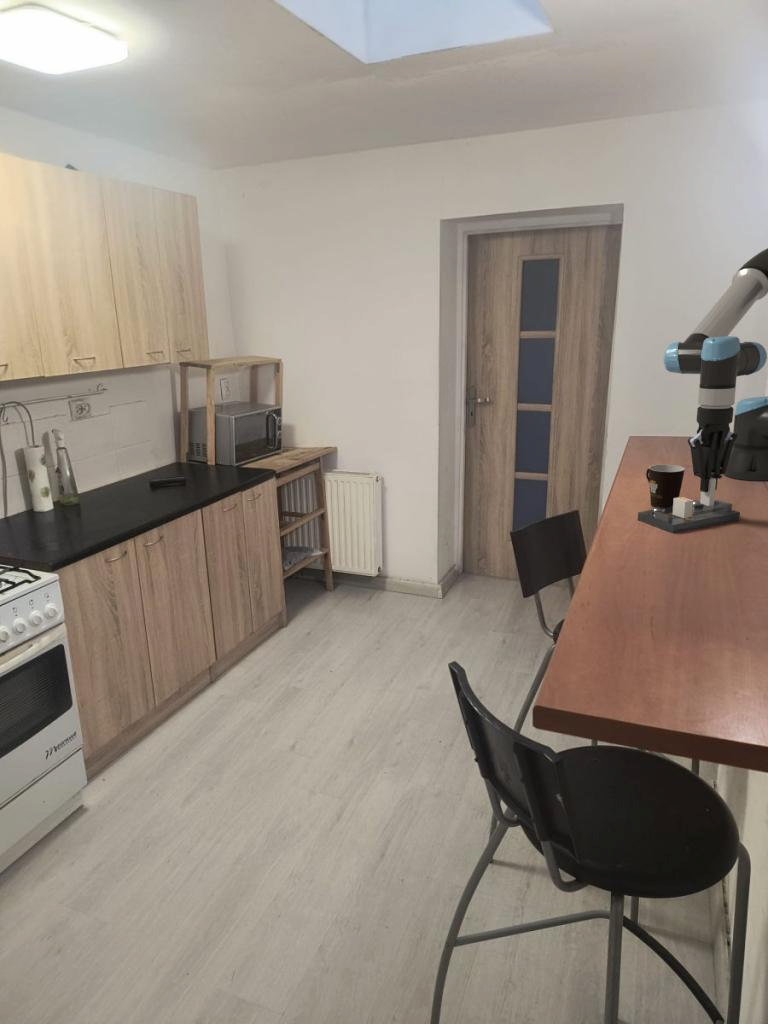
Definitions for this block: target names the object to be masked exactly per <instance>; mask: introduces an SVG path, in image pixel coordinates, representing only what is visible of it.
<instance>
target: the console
mask: <svg viewBox="0 0 768 1024" xmlns="http://www.w3.org/2000/svg"><path fill="white" fill-rule="evenodd" d="M692 500H693V499H692ZM700 500H701V499H699V500H698V499H696V500H695V499H694V500H693V510H692V517H688V518H682V517H679V516H676V515H673V506H671V507H665V508H663V507H652V509H650V510H645V511H638V512H637V521H639V522H642V523H644V524H647V525H650V526H652V527H655V528H659V529H661V530H662V531H663V530H664V531H666V532H669V533H671V534H676V533H680V532H686V531H691V530H692V531H693V530H696V529H702V528H706V527H711V526H718V525H722V524H728V523H734V522H737V521H740V517H741V512H740V511H737V510H733V504H732V503H729V502H726V501H723V500H720V499H714V505H712V506H707V505H704V504H701V503H700Z"/></svg>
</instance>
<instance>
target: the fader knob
mask: <svg viewBox="0 0 768 1024" xmlns="http://www.w3.org/2000/svg"><path fill="white" fill-rule="evenodd" d="M692 510H693V499H690V498H687V497H682V496H681V497H680V496H679V497H678V498H674V501H673V515H676V516H679V517H682V518H688V517H692Z"/></svg>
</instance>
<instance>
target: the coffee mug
mask: <svg viewBox="0 0 768 1024" xmlns="http://www.w3.org/2000/svg"><path fill="white" fill-rule="evenodd" d="M685 469H686V467H684V466H680V465H675V464H664V463H663V464H653V465H649V466H648V468H647V470H646V473H645V476H646V480H647V482H648V484H649V495H650V497H649V499H650V506H651V507H652V508H654V507H663V508H665V507H671V506H673V501H674V498H678V497H680V494H681V490H682V486H683V485H682V484H683V481H684V480H683V479H684V475H685Z"/></svg>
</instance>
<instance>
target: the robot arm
mask: <svg viewBox="0 0 768 1024" xmlns="http://www.w3.org/2000/svg"><path fill="white" fill-rule="evenodd" d="M767 295H768V247H767V248H766V249H763V250H762V251H760V252H758V253H756V254H755V255H754V256H752V257H751V258H750V259H749V260H748V261H746V262H745V263H744V264H743V265H742V266H741V267H740V268H739V269H738V270H737V271H736V273H735V274H734V275H733V276H732V279H731V285H730V286H729V287H728V288H727V290H725V292H724V293H723V295H722V296H721V297H720V298H719V299H718V301H717V302H715V304H713V306H712V307H711V309H710V310H709V312H708V313H707V314H706V315H705V316H704V317H703V318H702V319H701V321H700V322H699V323H698V324H697V325H696V327H695V328H694V329H693V331H692V332H691V333H690V334H689V335H688V336H687V338H686V339H685V340H684V341H683V342H681V341H677V342H673V343H671V344H669V345H668V346H667V347H666V349H665V351H664V354H663V364H664V367H665V369H666V370H667V371H668V372H669V373H675V374H681V375H684V374H685V375H686V374H687V375H699V388H698V399H697V404H698V405H700V406H698V407H697V411H696V423H697V424H698V428H697V430H696V434H695V435H694V436H693V437H689V438H688V439H687V443H688V445H689V447H690V454H691V461H692V470H693V476H695V477H698V478H700V482H699V483H700V485H699V491H700V499H699V500H700V503H701V504H704V505H707V506H712V505H714V500H715V498H716V497H715V496H716V491H717V488H718V480H719V479H722V477H723V476H725V477H728V478H731V479H735V480H745V481H753V482H755V481H756V482H758V481H759V482H761V481H763V482H765V481H768V395H766V396H756V397H750V398H743V399H741V400H739V401H737V403H736V405H735V408H734V407H733V406H734V404H735V400H736V399H735V398H736V387H737V377H741V376H749V375H752V374H755V373H757V372H759V371H760V370H761V369H763V367H764V366H765V365H766V363H767V359H768V355H767V353H768V352H767V351H766V348H765V347H764V346H763V345H762V344H760V343H758V342H755V341H743V342H741V340H740V338H739V337H738V336H733V335H731V336H729V335H730V333H731V332H732V331H733V330H734V329H735V328H736V326H737V325H738V324H739V323H740V321H741V320H742V319H743V318H744V317H745V316H746V314H747V313H748V312H749V310H750V309H751V308H752V307H753V305H754V304H755V303H756V302H757V301H759V300H761V299H763V298H764V297H765V296H767ZM734 409H735V411H734ZM733 419H734V420H733ZM732 423H733V432H732V431H731V428H730V424H732Z"/></svg>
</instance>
